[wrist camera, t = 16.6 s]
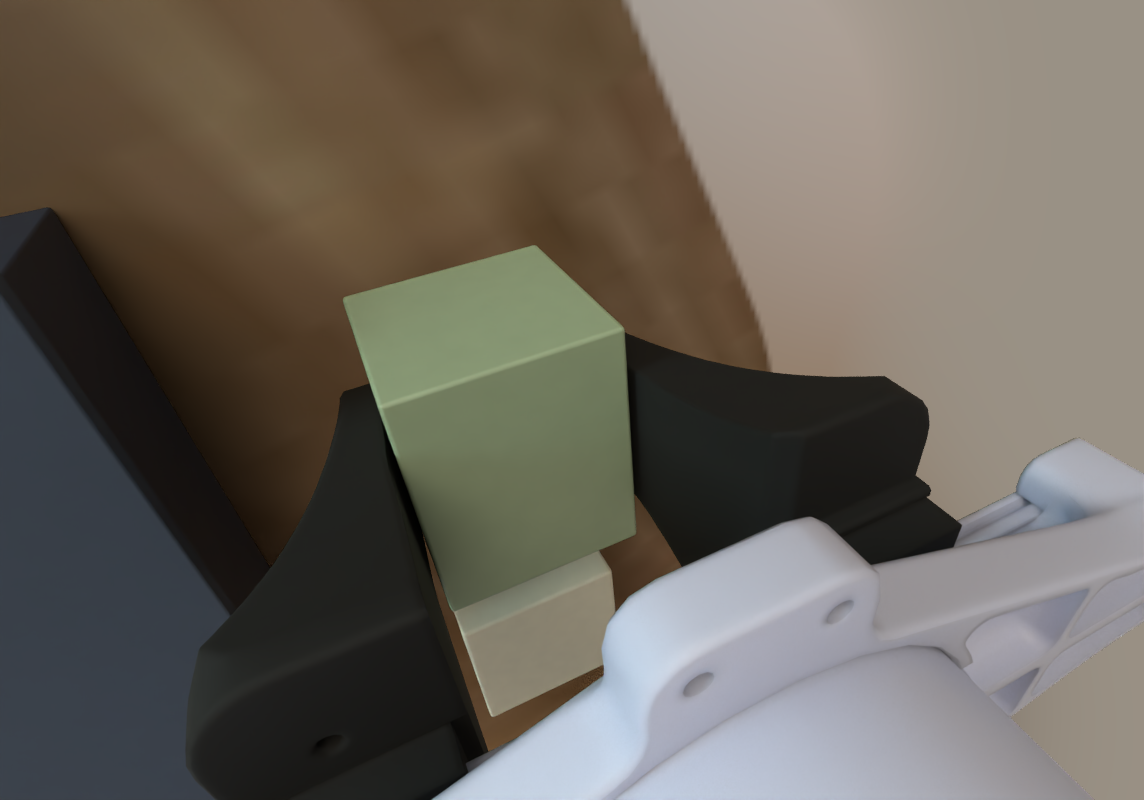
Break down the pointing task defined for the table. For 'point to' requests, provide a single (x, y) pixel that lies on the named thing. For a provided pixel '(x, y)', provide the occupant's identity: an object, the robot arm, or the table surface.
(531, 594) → the cream box
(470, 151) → the table surface
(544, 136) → the table surface
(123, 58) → the table surface
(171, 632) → the storage box
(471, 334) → the sage box
